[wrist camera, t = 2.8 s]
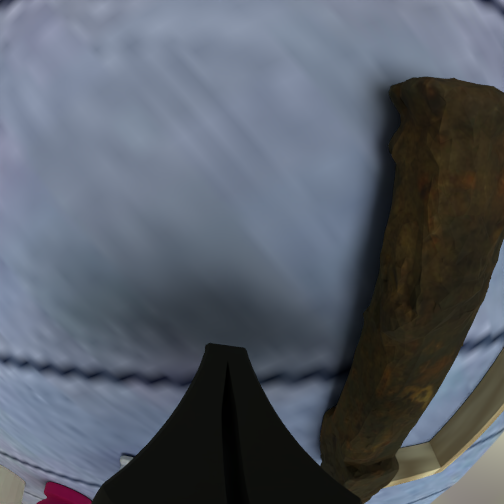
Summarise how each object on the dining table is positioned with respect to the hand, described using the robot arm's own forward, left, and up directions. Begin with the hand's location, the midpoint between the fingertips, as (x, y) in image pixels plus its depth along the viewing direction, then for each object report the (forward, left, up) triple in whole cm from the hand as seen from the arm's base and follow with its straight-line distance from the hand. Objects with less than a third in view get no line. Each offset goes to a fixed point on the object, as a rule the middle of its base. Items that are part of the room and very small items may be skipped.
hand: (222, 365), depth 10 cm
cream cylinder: (-27, -37, -2) cm, 46 cm away
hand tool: (+8, 0, -2) cm, 8 cm away
